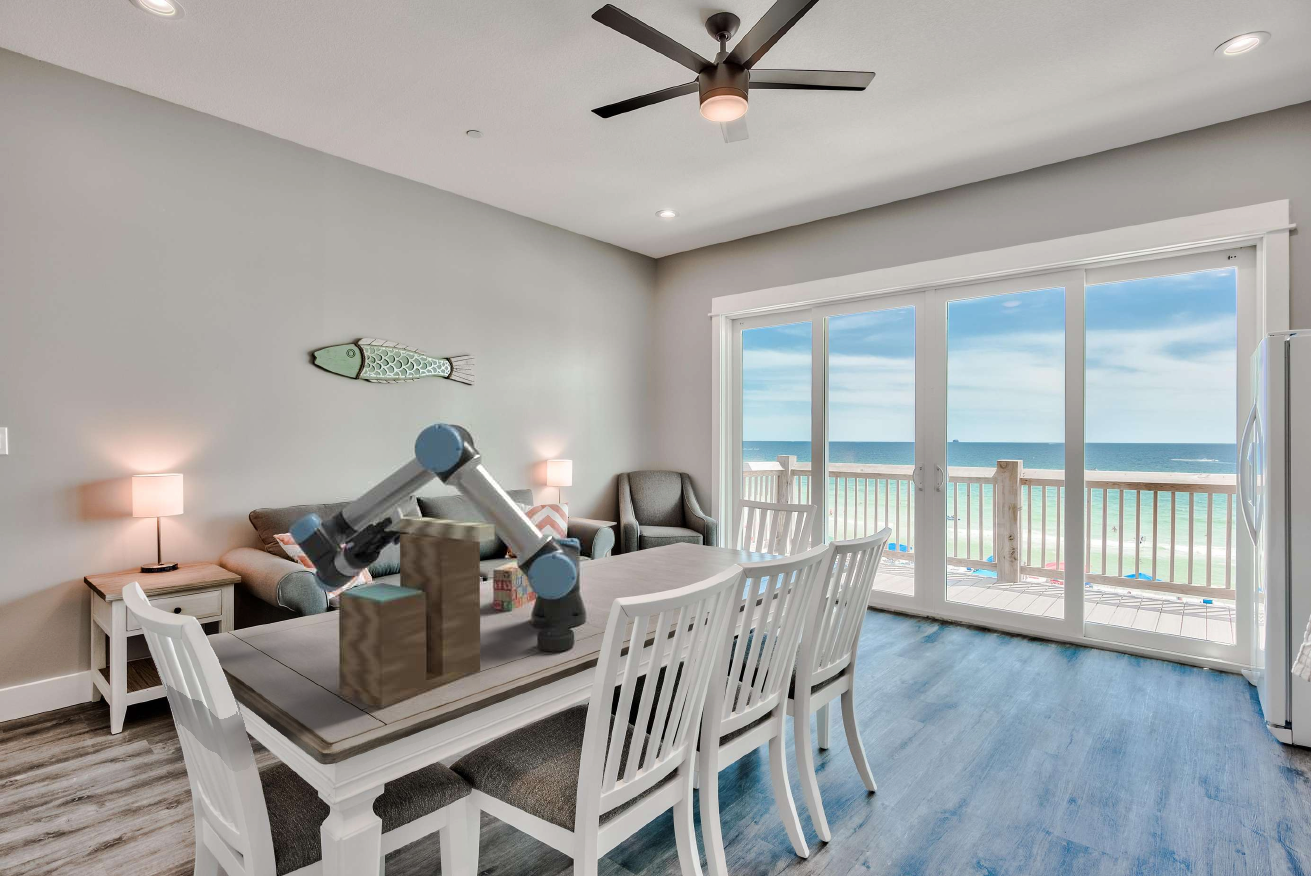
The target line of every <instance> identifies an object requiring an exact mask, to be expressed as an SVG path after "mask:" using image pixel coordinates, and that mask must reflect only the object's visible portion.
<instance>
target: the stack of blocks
mask: <svg viewBox="0 0 1311 876" xmlns="http://www.w3.org/2000/svg"><path fill="white" fill-rule="evenodd" d="M492 573H493V577H492V579H493V580H492V587H493V588H492V591H493V597H492V598H493V599H492V600H493V602H492V604H493V608H492V609H493V610H494V611H506V612H513V611H515V610H518V609H519V608H521V607H523V606H525V605H527V604H528V603H530V602H532V601H533V600H536V598H537V594H536V593H535V592H534V591H533V590H532V588H531V587H530V584H529V582H528V578H527V577H526V576H525V575H524V573H523V572H522V571H521V570H520V569H519V568H518V566H517V560H515V561H514V560H513V561H512V562H509V563H506V564H504V565H501V566H499V567H495V568H493V571H492Z"/></svg>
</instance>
